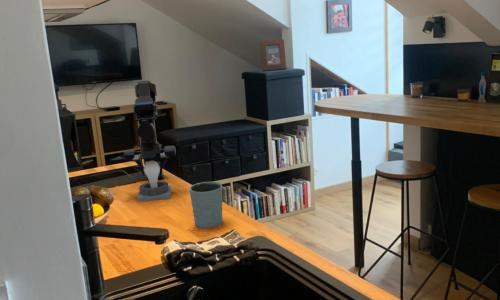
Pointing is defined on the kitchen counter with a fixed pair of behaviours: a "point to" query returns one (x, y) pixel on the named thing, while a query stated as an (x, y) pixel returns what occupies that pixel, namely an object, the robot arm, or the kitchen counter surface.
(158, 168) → the lightbulb
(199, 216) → the blue-grey cup
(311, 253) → the kitchen counter surface
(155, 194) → the bulb holder
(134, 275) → the kitchen counter surface
